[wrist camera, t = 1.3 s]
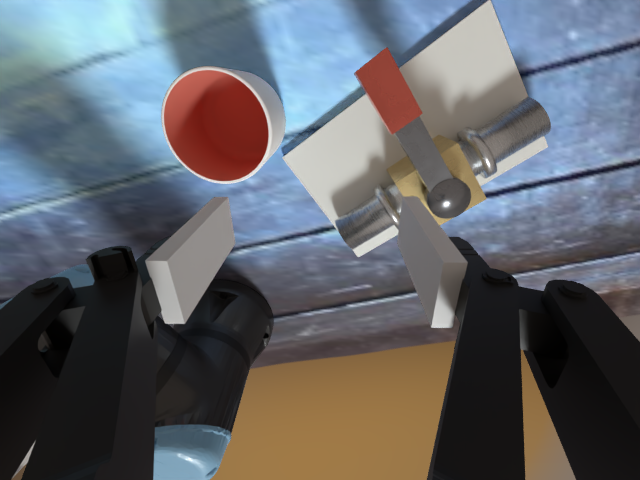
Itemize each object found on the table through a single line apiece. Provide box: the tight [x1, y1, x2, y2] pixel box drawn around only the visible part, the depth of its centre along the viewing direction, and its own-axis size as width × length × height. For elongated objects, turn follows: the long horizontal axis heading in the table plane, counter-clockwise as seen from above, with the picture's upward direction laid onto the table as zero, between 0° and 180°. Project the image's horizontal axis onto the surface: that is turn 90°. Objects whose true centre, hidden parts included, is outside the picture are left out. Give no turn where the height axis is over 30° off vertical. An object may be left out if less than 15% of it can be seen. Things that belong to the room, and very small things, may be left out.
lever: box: [354, 47, 471, 219], centre depth 28 cm, size 16×4×2 cm, turn 36°
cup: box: [161, 66, 286, 184], centre depth 32 cm, size 10×10×10 cm
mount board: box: [283, 0, 548, 257], centre depth 37 cm, size 26×17×1 cm, turn 126°
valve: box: [335, 97, 551, 249], centre depth 35 cm, size 24×7×7 cm, turn 126°
